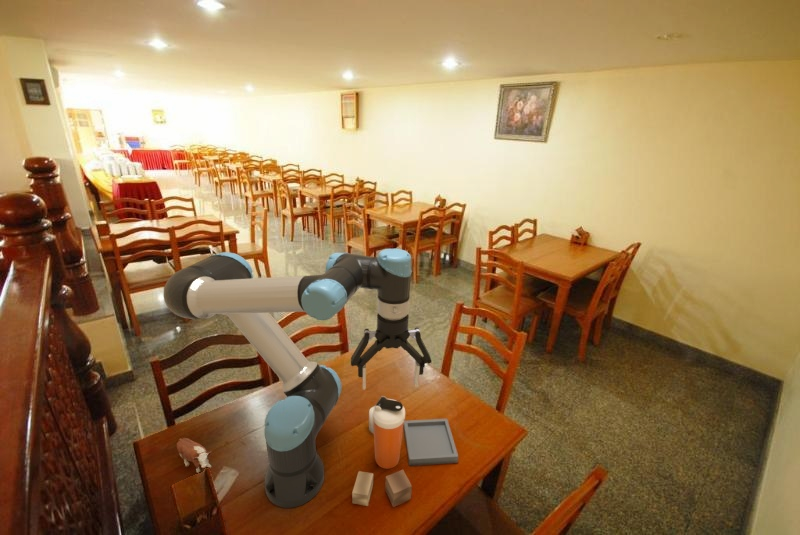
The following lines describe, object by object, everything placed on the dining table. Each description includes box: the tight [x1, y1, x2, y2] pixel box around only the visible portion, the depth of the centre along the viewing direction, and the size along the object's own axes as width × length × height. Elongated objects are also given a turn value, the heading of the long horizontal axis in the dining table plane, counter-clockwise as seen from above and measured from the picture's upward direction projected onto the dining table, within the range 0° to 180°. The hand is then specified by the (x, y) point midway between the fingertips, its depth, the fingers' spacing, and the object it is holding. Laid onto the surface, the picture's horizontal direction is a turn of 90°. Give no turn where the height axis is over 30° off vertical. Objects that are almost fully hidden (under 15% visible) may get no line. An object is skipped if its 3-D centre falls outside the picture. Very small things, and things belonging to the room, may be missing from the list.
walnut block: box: [384, 469, 413, 508], centre depth 90 cm, size 5×5×5 cm
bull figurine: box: [176, 437, 213, 474], centre depth 95 cm, size 4×13×8 cm, turn 58°
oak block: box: [351, 470, 374, 507], centre depth 91 cm, size 4×6×4 cm, turn 171°
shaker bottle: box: [372, 395, 406, 470], centre depth 98 cm, size 9×9×20 cm
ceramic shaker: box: [368, 406, 374, 434], centre depth 110 cm, size 4×4×7 cm
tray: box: [403, 418, 459, 467], centre depth 106 cm, size 14×14×2 cm
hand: (390, 384), depth 92 cm, fingers open, 13 cm apart
